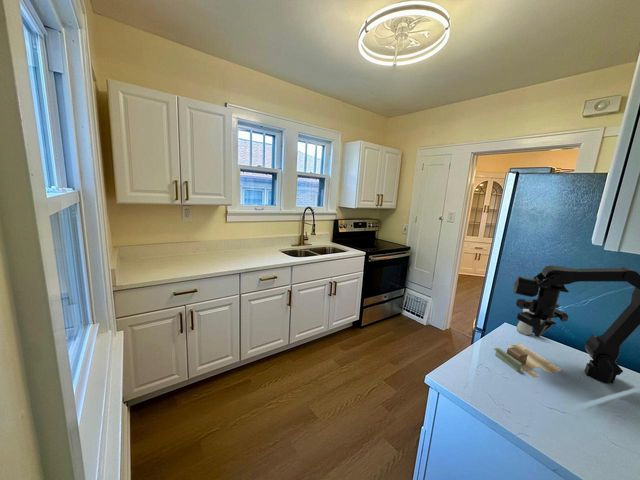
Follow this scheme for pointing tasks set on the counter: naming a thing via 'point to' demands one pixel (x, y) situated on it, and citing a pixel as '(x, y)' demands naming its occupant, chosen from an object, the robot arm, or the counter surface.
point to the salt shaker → (524, 326)
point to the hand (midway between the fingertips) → (537, 336)
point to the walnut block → (518, 354)
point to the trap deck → (531, 361)
